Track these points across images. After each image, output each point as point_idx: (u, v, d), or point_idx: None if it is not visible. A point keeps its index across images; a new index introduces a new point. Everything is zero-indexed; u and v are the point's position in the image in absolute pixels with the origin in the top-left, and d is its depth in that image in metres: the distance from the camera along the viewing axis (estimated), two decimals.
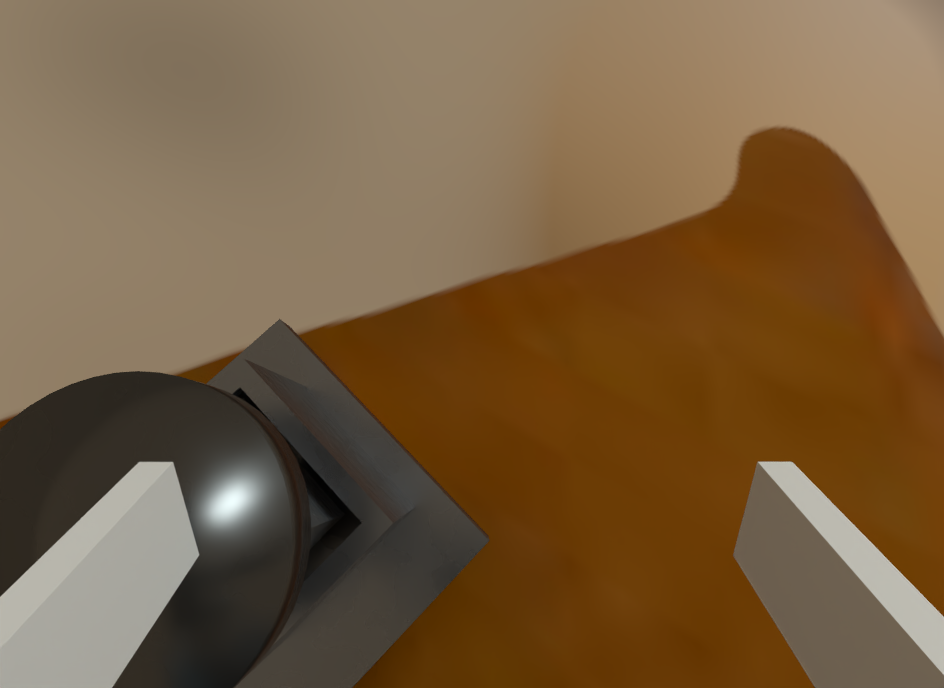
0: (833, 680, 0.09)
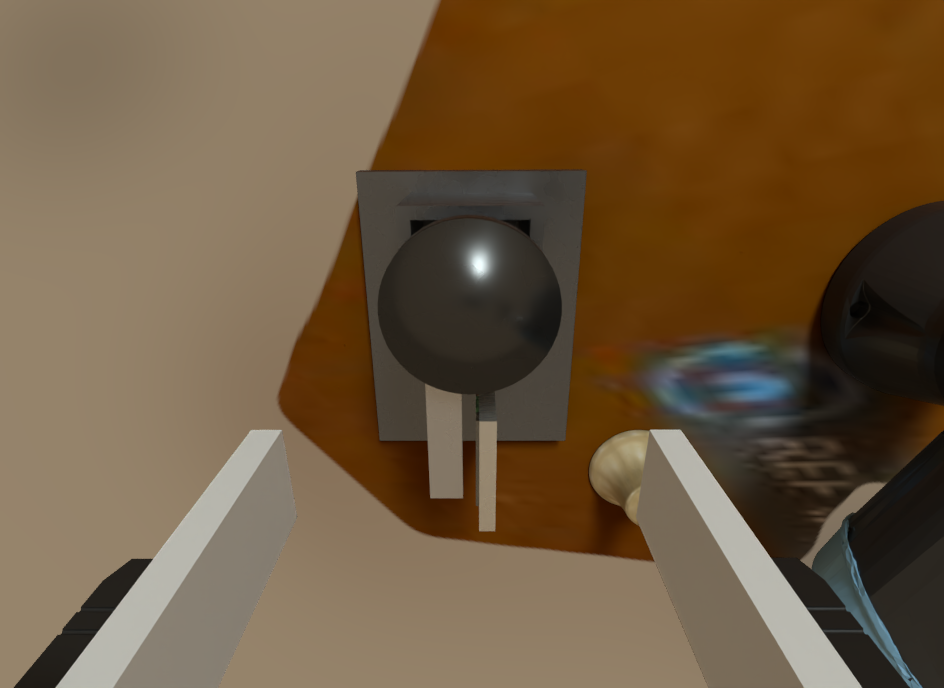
0: (691, 614, 0.10)
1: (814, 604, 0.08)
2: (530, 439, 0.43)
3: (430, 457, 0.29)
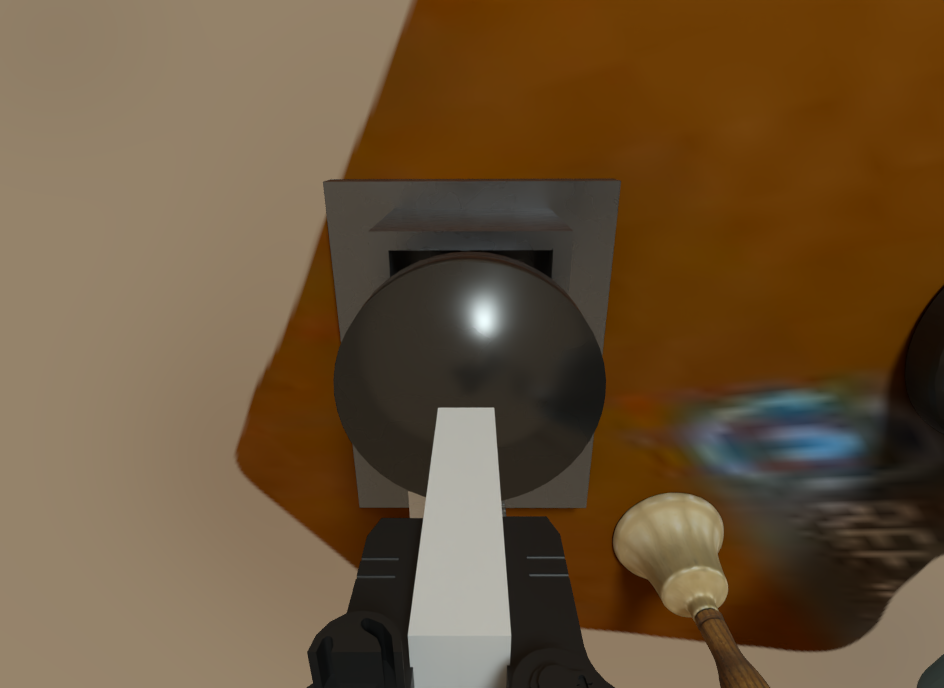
0: None
1: (537, 554, 0.09)
2: (543, 506, 0.35)
3: None
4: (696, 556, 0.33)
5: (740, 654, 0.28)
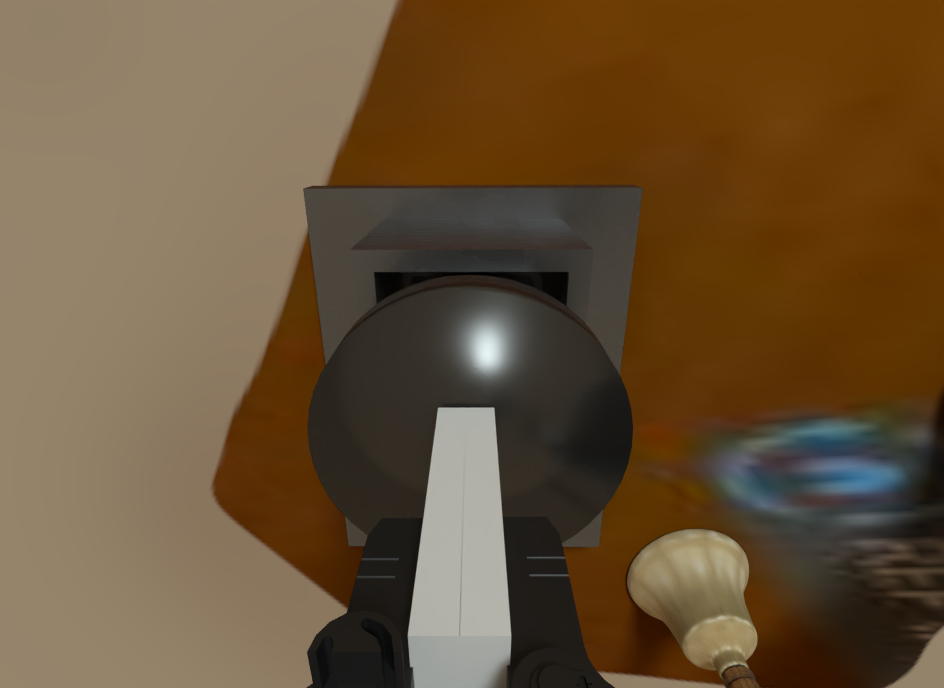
0: None
1: (537, 554, 0.09)
2: None
3: None
4: (722, 603, 0.30)
5: None
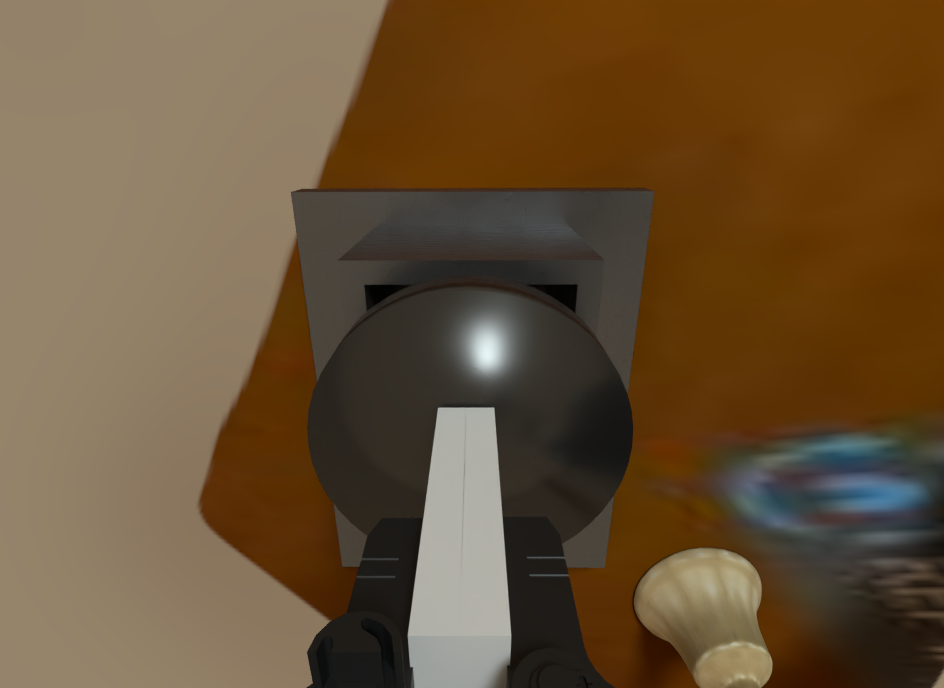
0: None
1: (537, 554, 0.09)
2: None
3: None
4: (735, 628, 0.28)
5: None
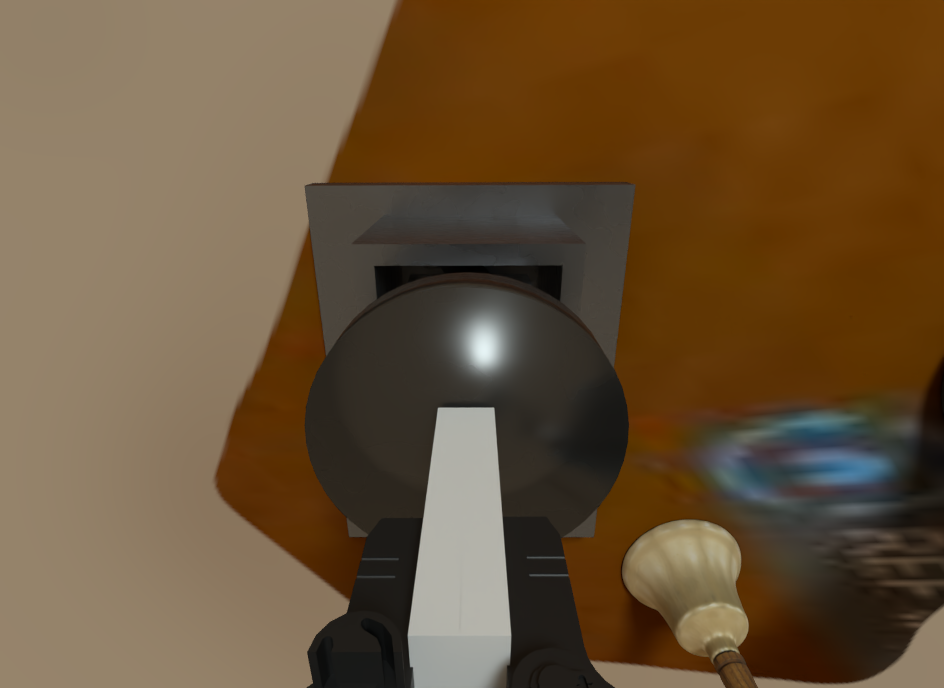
0: None
1: (537, 554, 0.09)
2: None
3: None
4: (714, 591, 0.31)
5: None
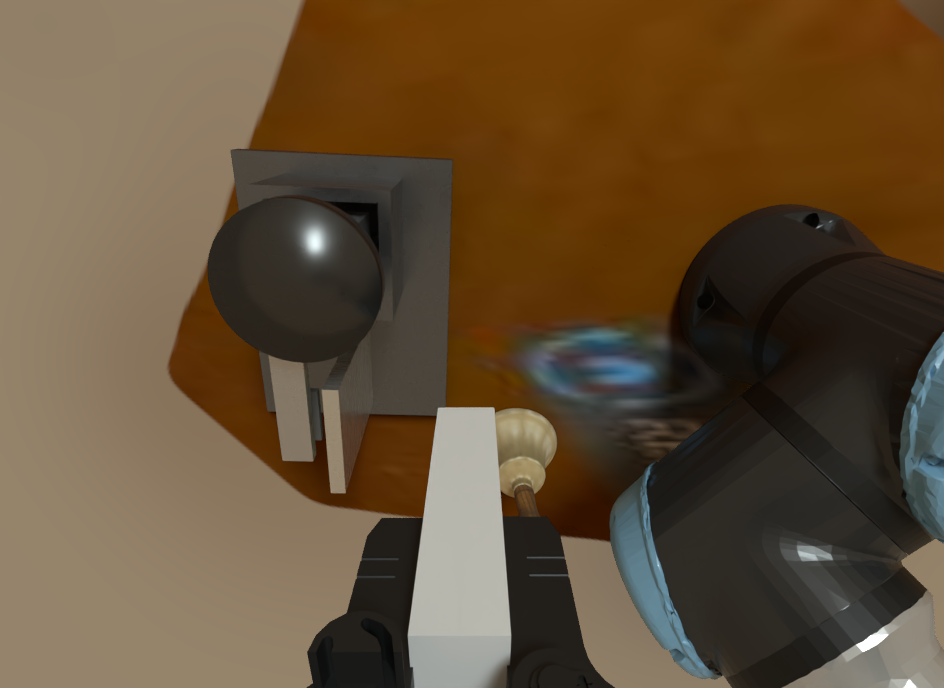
0: None
1: (537, 554, 0.09)
2: (412, 413, 0.45)
3: (279, 422, 0.31)
4: (522, 450, 0.44)
5: (534, 510, 0.39)
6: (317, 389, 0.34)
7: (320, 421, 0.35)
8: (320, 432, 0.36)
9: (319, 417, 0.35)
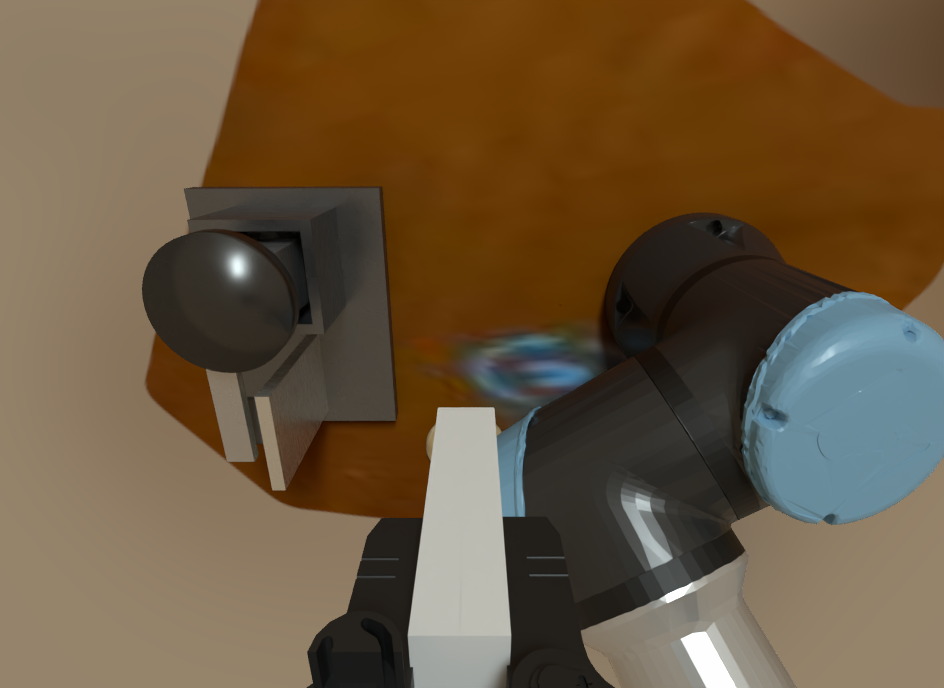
0: None
1: (537, 554, 0.09)
2: (365, 419, 0.49)
3: (220, 426, 0.36)
4: None
5: None
6: None
7: None
8: None
9: None
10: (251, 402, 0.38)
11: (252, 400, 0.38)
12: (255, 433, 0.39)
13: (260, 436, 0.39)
